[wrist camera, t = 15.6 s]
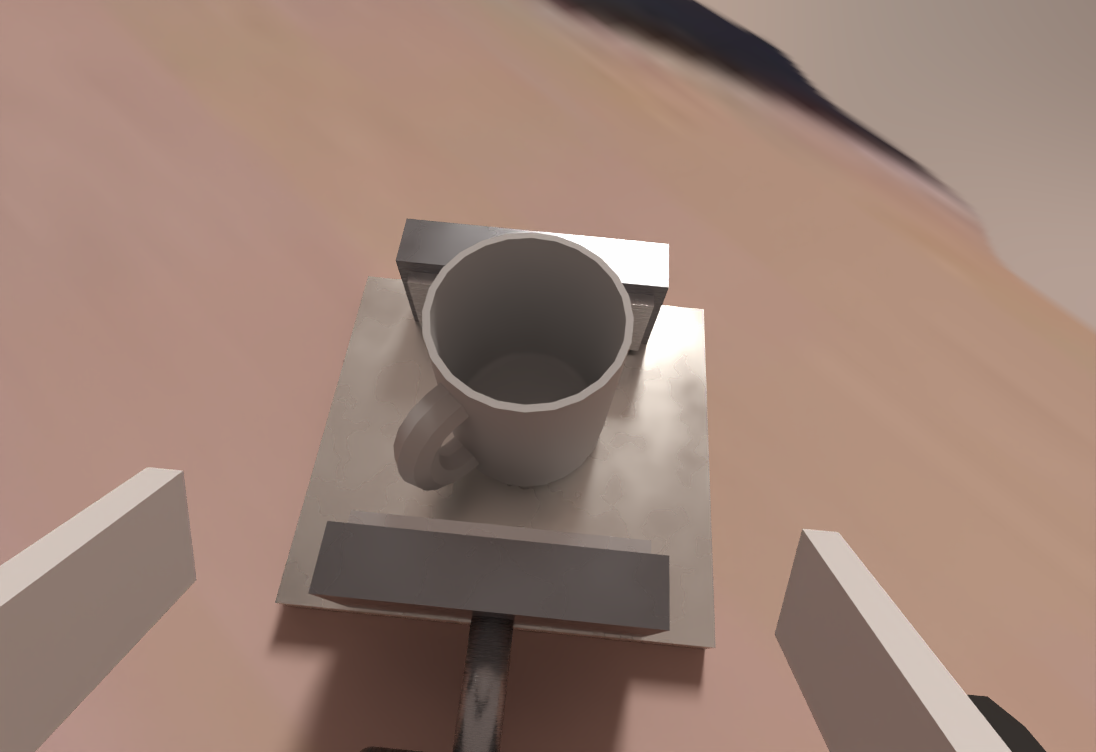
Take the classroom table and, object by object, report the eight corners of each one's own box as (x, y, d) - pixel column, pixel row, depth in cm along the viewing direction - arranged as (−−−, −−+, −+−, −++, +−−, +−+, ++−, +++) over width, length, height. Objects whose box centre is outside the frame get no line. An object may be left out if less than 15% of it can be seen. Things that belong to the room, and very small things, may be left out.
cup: (633, 419, 28) (677, 320, 20) (474, 569, 24) (450, 522, 17) (530, 325, 30) (533, 201, 22) (371, 450, 27) (307, 358, 19)
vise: (246, 757, 22) (150, 788, 17) (374, 292, 32) (342, 210, 27) (709, 805, 22) (775, 854, 17) (696, 324, 32) (733, 249, 26)
